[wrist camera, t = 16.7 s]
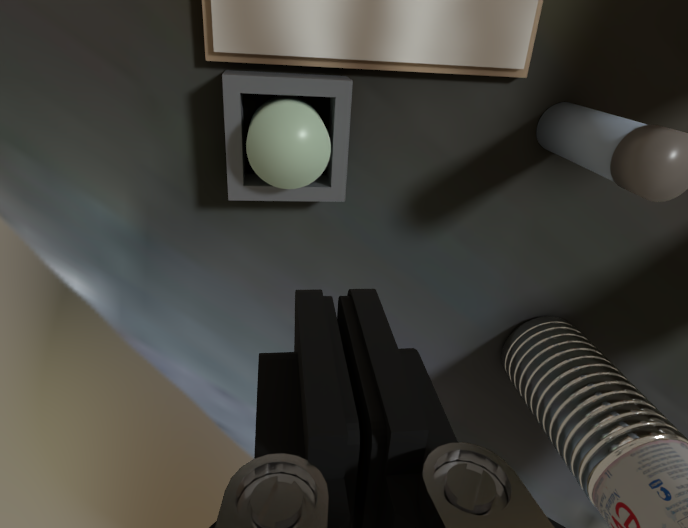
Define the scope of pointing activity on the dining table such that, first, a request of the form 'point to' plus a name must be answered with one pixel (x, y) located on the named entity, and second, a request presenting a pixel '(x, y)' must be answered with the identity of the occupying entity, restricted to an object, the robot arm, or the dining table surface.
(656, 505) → the water bottle
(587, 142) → the slate
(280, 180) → the button
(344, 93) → the button housing
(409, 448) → the robot arm
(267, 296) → the dining table surface
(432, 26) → the worksheet
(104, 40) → the dining table surface
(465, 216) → the dining table surface
